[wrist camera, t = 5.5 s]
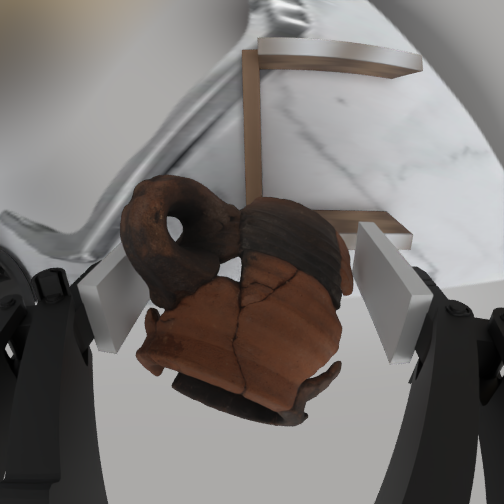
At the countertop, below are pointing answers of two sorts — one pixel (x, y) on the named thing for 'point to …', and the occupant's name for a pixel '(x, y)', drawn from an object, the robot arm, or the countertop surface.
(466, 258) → the countertop surface
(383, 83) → the countertop surface
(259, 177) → the wooden stand
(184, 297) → the pottery mug
